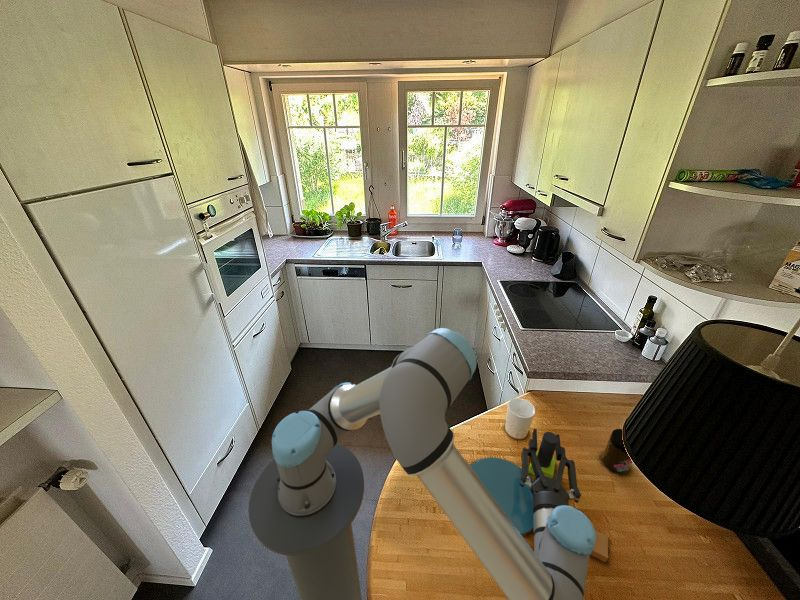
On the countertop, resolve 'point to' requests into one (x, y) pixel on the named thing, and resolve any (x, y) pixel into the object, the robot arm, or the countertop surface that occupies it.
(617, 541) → the countertop surface
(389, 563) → the countertop surface
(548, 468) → the sponge wand
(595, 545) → the brown rectangular block
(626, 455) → the supplement container
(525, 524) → the plate
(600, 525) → the countertop surface
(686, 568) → the countertop surface
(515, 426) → the white cup
